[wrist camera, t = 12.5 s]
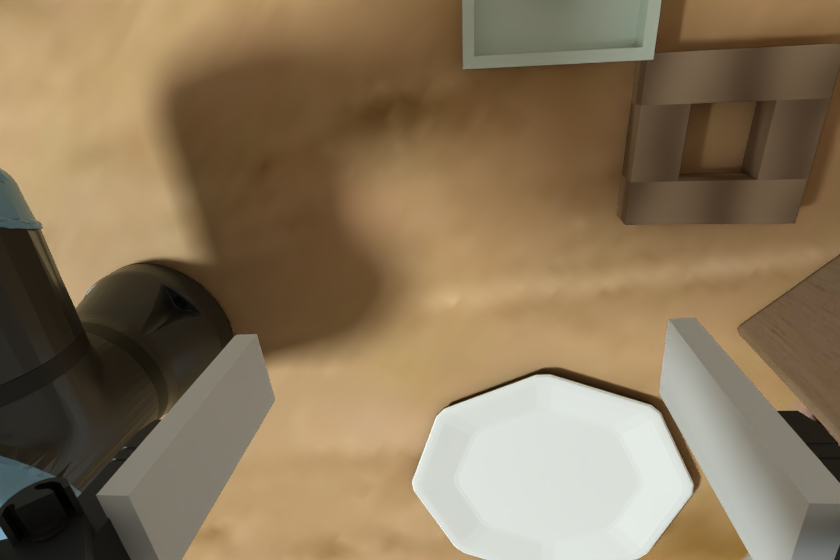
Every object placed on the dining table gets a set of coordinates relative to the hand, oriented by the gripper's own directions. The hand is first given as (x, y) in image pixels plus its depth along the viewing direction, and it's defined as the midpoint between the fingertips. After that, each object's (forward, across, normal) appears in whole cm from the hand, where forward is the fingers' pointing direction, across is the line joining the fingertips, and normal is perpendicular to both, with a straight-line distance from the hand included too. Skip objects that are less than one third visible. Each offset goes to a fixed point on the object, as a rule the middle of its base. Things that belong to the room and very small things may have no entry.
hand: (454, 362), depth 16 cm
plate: (+27, +7, -34) cm, 44 cm away
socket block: (+26, +18, +2) cm, 32 cm away
